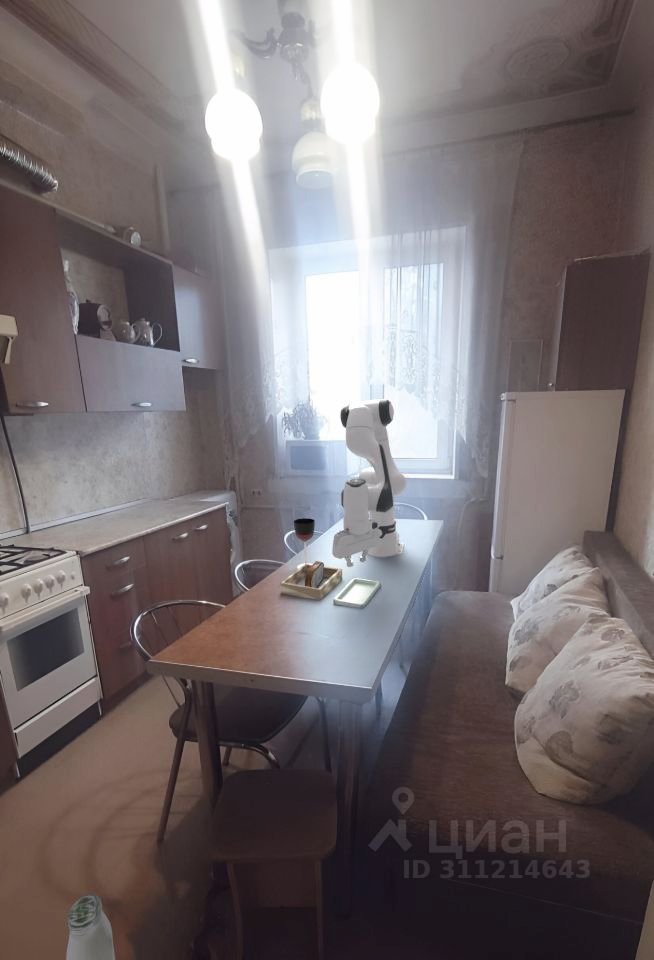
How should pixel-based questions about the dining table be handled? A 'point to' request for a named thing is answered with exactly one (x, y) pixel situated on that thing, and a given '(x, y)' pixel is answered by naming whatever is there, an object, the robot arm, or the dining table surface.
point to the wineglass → (304, 532)
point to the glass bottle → (89, 931)
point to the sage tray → (357, 593)
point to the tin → (314, 574)
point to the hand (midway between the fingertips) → (356, 563)
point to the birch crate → (310, 592)
